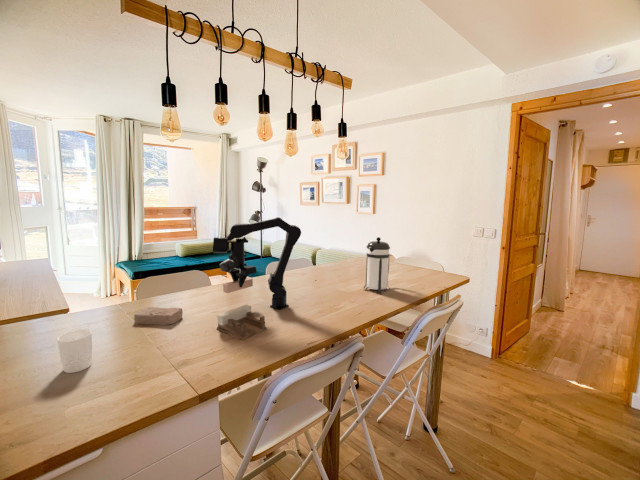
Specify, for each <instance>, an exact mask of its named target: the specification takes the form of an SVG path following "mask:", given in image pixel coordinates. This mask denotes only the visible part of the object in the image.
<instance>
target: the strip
mask: <svg viewBox="0 0 640 480" xmlns="http://www.w3.org/2000/svg"><path fill="white" fill-rule="evenodd" d="M247 312H252V306H251V305H248V304H244V305H241V306H239V307H237V308H234V309H230V310H227V311H224V312H221V313H219V314H217V315H216V316H217V325H218V324H220V325H222V326H223V325H226V324H228V320H229V319H231V318H232V319H234V320H238V319H241V318H244V317H246V316H247Z"/></svg>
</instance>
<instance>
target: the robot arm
mask: <svg viewBox="0 0 640 480" xmlns="http://www.w3.org/2000/svg"><path fill="white" fill-rule="evenodd" d="M273 228H280V229H281V230H282V231H285V241H284V242H285V243H284V246H283V249H282V250H281V255H280V257H279V260H278V263H277V266H276V268H275V270H274V272H273V273H272V272H270V273H269V278H268V279H267V283H268V287H269V290H270V292H271V293H272V296H271V297H272V298H271V305H269V308H272V309H276V310H280V311H281V310H283V309H285V308H288V307H289V306H290V305H289V304H288V303H287V289H286V287H285V285H283V283H284V275H285V271H286V269H287V265H288V263H289V260H290V257H291V255H292V252H293V248H294V246H295V245H296V243H297V242H298V241H299V239H300V237H301V235H302V230H301V228H300V227H299V226H297V225H294V224H292V225H291V224H289V223H288V222H287V221H285V220H284V219H282V217H274V218H270V219H266V220H261V221H257V222H253V223H252V222H251V223H236V224H233V225H232V226H231V228H230V231H229V234H228V235H226V236H227V237H214V238H213V242H212V244H213V245H212V252H213V254H227V253H228V251H230V254H229V255H228V258H227V259H225V260H223V261H222V262H221V263H219V269H220V271H221V272H225V273H228V274H229V275H230V277H231V279H232V282H234V281H238V280H239V286H240V287H242V286H243V284H244V282H245V280H246V278H248V276H249V275H254V274H257V272H258V271H257V269H258V268H257V266H253V265H247V262H245V257H247V254H246V253H245V243H247V244H248V243H249V240H248V239H247V238H246V237H245V236H246V235H250V234H251V233H253V232H254V233H255V232H259V231H264V230H267V229H268V230H269V229H273ZM242 237H243V238H242ZM234 239H235V240H234Z"/></svg>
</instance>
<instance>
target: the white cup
mask: <svg viewBox="0 0 640 480" xmlns="http://www.w3.org/2000/svg"><path fill="white" fill-rule="evenodd" d="M92 336H93V333H92V331H91V330H90V329H78V330H77V329H76V330H73V331H68V332H66V333H63V334H61V335H59V336H58V337H57V339H56V340H57V345H58V347H57V348H58V350H59V351H58V352H59V353H58V354H59V357H60V361H61V366H62V370H63V372H64V373H67V374H71V373H73V374H74V373H78V372H82V371H84V370H86V369H88V368H89V367H91V366H92V364H93V339H92V338H93V337H92Z"/></svg>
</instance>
